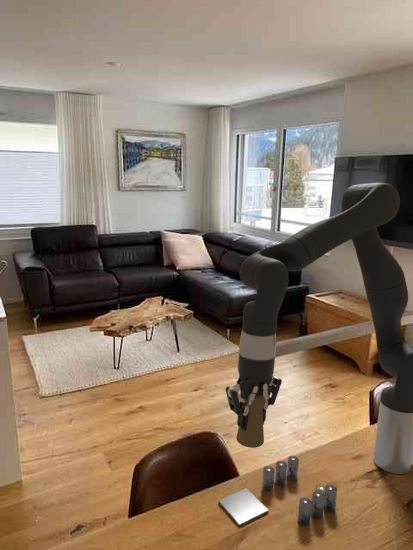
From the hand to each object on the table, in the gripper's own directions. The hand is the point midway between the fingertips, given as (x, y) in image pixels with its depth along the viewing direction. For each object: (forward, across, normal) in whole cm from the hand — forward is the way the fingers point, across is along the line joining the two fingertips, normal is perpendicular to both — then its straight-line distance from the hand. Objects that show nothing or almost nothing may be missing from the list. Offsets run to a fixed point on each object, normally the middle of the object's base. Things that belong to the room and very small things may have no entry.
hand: (251, 425), depth 90 cm
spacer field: (+20, -13, +4) cm, 24 cm away
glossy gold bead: (+20, -19, +5) cm, 28 cm away
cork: (+3, 0, 0) cm, 3 cm away
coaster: (+20, 0, 0) cm, 20 cm away
